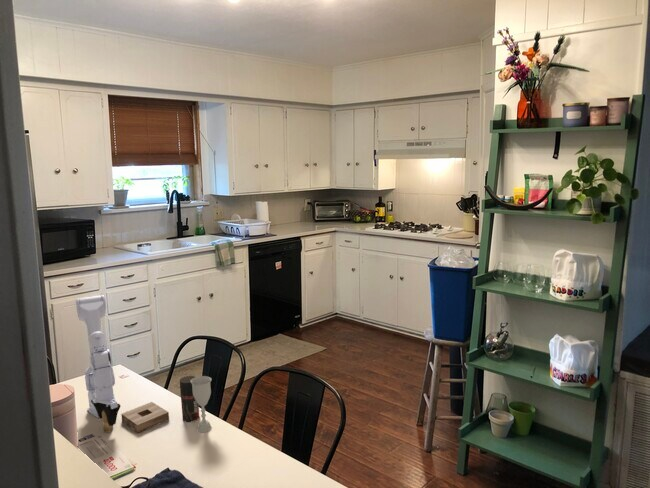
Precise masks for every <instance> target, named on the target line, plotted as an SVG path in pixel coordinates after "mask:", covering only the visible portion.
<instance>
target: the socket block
mask: <svg viewBox="0 0 650 488" xmlns="http://www.w3.org/2000/svg"><path fill="white" fill-rule="evenodd" d="M169 413H170V412H169V411H167V410H166V409H164V408H163V407H161V406H159V405H158V404H156V403H155V402H153V401H151V402H150V401H149V402H147V403H145V404H143V405H140V406H137V407H135V408H132V409H129V410H127V411H125V412H123V413H121V414H120V415H121V416H120V417H121V422H122V423H124V424H125V425H126V426H128V427H129V428H131V429H132V430H133V431H135V432H136V433H137V434H139V433H142V432H143V431H146V430H148V429H150V428H153V427H156V426H157V425H160V424H162V423H165V422H167V421H169V420H170V414H169Z"/></svg>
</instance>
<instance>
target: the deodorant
mask: <svg viewBox="0 0 650 488" xmlns="http://www.w3.org/2000/svg"><path fill="white" fill-rule="evenodd" d="M195 377H196V376H194V375H186V376H183V377H181V378H179V390H180V403H181V414H182V415H181V416H182V421H184V422H185V421H186V423H192V422H191V421H193V422H196V421H198V420H199V419H198V418H200V408H199V407H200V406H199V405H198V403H197V402H196V400H195V398H194V396H193V389H192V383H191V382H190V381H191V379H193V378H195ZM195 420H196V421H195Z"/></svg>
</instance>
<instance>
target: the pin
mask: <svg viewBox="0 0 650 488" xmlns="http://www.w3.org/2000/svg"><path fill="white" fill-rule="evenodd" d="M101 419H102V425H103V426H102V428H103V432H104V433H111V432H112V431H113V430H114V425H112V426H109V424H108V421H107V417H106V414H105V413H104V411H102V418H101Z"/></svg>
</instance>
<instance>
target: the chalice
mask: <svg viewBox="0 0 650 488" xmlns="http://www.w3.org/2000/svg"><path fill="white" fill-rule="evenodd" d="M190 382H191V383H192V389H193V396H194V398H195V400H196V402H197V403H198V405H199V407H201V408H200V409H201V410H200V412H201V415H200V417H201V418H202V420H200V422H199V423H198V425H197V428H196V431H197V432H200V433H206V432H209V431H211V430H212V428H213V426H212V425H211V423H210V421H209V420H207V419H206V416H207V414H206V408H205V406H207V404H208V402H209V400H210V398H211V394H212V389H211V382H212V377H210V376H207V375H201V376H200V375H199V376H195V378H193V379H191V381H190Z"/></svg>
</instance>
